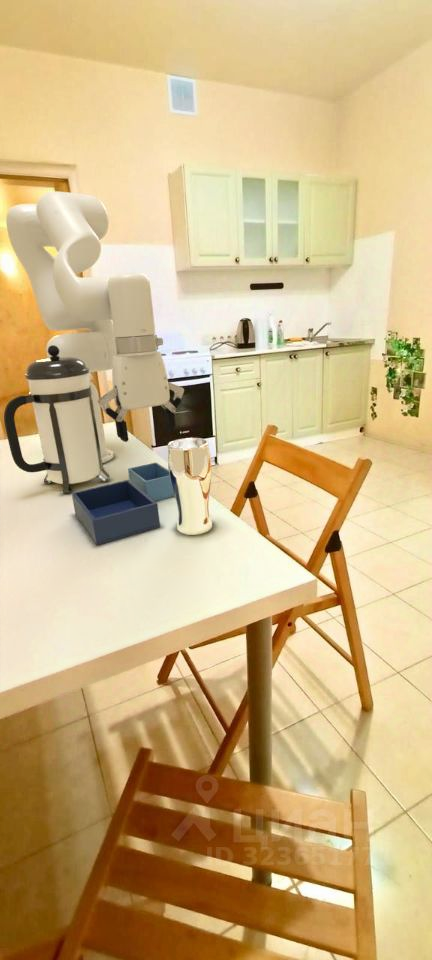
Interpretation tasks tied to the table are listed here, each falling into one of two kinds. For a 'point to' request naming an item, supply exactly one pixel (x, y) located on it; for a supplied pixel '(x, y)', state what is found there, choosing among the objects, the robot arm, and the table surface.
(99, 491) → the big bin
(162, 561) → the table surface
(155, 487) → the small bin
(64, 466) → the coffee press
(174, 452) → the beer glass
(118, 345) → the robot arm
